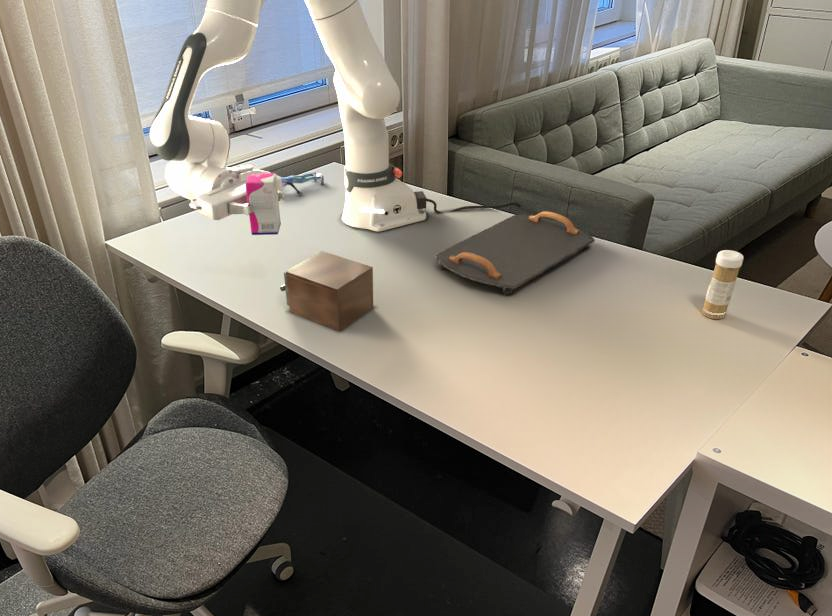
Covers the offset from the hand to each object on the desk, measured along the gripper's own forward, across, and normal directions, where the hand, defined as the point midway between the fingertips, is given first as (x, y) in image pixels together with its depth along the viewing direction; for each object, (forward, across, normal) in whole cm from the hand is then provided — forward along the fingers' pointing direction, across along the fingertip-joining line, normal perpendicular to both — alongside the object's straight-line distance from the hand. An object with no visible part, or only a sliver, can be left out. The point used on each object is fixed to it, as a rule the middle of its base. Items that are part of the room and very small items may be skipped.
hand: (266, 203), depth 148 cm
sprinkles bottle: (+81, +45, +20) cm, 94 cm away
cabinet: (+16, 0, +20) cm, 26 cm away
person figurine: (-38, +47, +20) cm, 64 cm away
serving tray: (+36, +44, +20) cm, 60 cm away
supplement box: (-1, 0, +6) cm, 6 cm away
